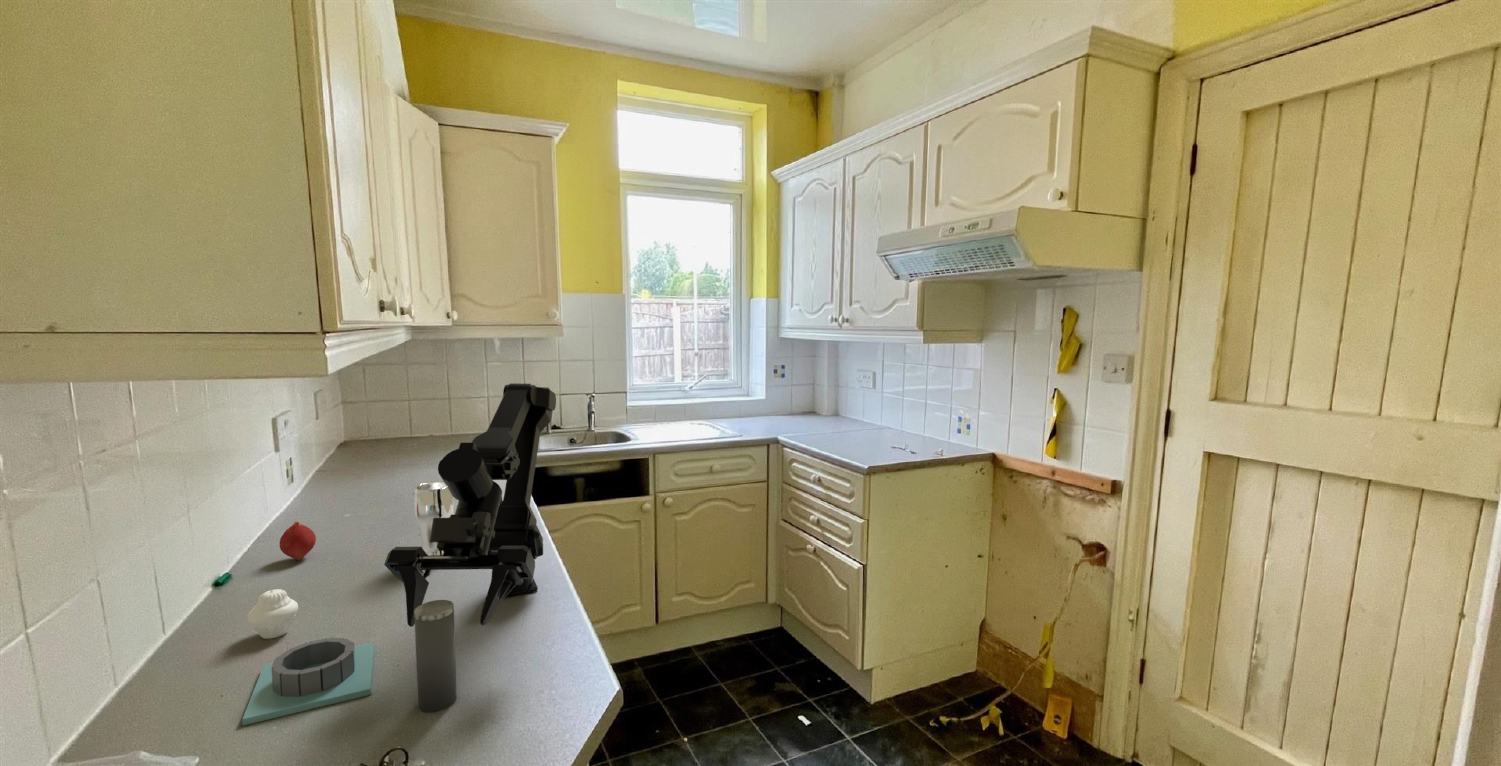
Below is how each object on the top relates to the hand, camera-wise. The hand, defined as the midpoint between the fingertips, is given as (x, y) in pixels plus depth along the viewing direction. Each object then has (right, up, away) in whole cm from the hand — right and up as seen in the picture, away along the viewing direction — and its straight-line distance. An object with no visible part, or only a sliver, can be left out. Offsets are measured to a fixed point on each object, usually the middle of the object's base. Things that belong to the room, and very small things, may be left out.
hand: (446, 624), depth 81 cm
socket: (-18, -8, +1) cm, 20 cm away
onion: (-50, -3, +41) cm, 65 cm away
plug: (0, -9, -3) cm, 9 cm away
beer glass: (-24, -4, +44) cm, 50 cm away
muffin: (-33, -7, +13) cm, 36 cm away
